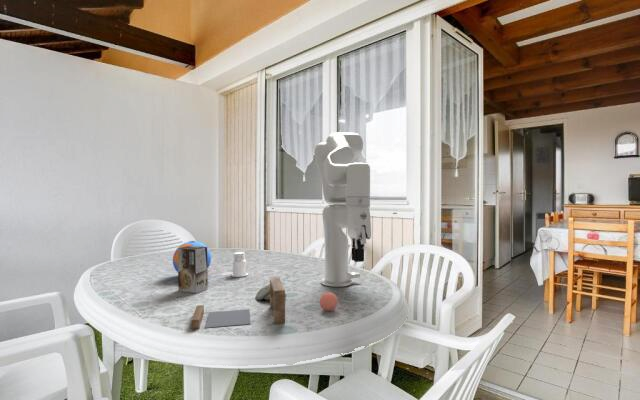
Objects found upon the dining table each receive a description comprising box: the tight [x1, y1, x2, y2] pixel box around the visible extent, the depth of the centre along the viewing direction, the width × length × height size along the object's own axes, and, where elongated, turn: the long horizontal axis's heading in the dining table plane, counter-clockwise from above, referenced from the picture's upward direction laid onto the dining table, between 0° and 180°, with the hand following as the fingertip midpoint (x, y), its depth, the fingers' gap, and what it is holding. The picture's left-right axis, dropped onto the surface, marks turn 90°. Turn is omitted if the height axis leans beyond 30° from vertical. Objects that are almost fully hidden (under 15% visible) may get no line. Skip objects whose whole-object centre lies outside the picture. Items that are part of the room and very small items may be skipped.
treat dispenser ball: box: [172, 240, 212, 273], centre depth 149 cm, size 16×15×15 cm
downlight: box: [231, 251, 249, 278], centre depth 151 cm, size 8×7×10 cm
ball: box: [319, 291, 339, 312], centre depth 107 cm, size 6×6×6 cm
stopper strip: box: [190, 304, 205, 330], centre depth 98 cm, size 2×12×2 cm, turn 13°
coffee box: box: [177, 246, 209, 294], centre depth 129 cm, size 9×6×16 cm
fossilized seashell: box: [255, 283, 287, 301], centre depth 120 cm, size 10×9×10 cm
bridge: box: [269, 277, 286, 325], centre depth 103 cm, size 3×15×9 cm, turn 13°
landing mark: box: [204, 308, 251, 329], centre depth 100 cm, size 12×12×1 cm
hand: (357, 260), depth 109 cm, fingers closed
